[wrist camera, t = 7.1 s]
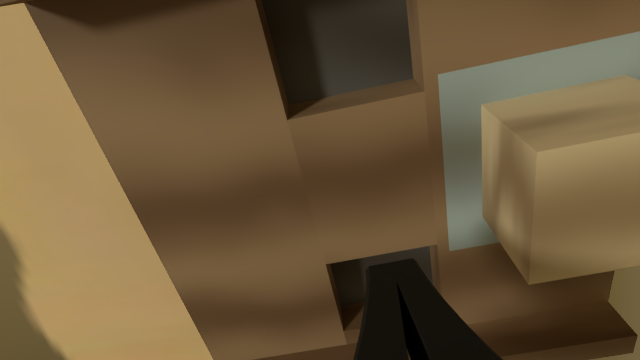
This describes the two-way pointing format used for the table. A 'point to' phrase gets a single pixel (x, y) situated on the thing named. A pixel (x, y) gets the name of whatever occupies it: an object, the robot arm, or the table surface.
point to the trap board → (334, 155)
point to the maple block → (565, 178)
